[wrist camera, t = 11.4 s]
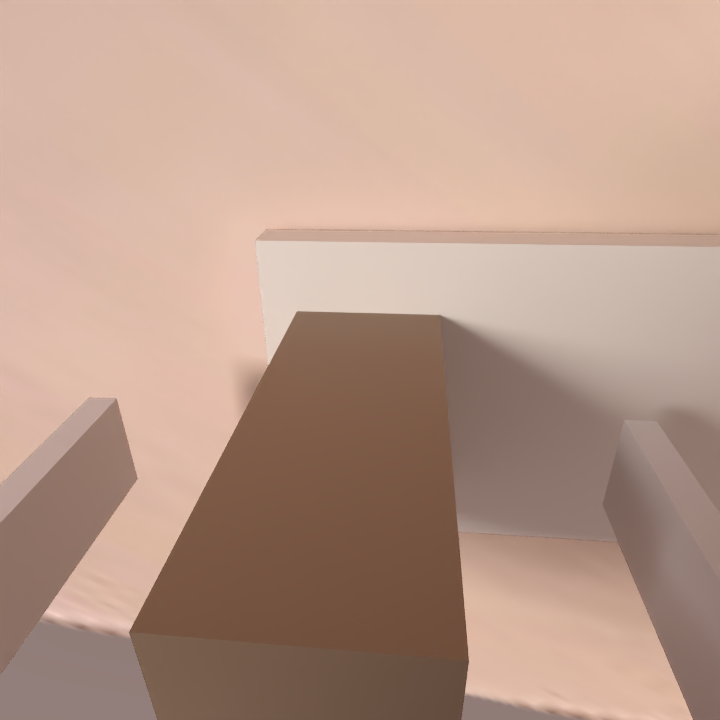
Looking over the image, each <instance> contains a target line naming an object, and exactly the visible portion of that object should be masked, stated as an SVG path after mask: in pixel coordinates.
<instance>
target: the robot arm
mask: <svg viewBox="0 0 720 720" xmlns="http://www.w3.org/2000/svg"><path fill="white" fill-rule="evenodd" d="M136 480H137V475H136V471H135V467H134V463H133V459H132V456H131V452H130V448H129V444H128V440H127V436H126V433H125V429H124V425H123V421H122V417H121V413H120V410H119V406H118V402H117V399H115V398H92V397H89V398H88V399H87V400H86V401H85V402H84V403H83V404H82V405H81V406H80V407H79V408H78V409H77V410H76V411H75V412H74V413H73V414H72V415H71V416H70V417H69V418H68V419H67V420H66V421H65V422H64V423H63V424H62V425H61V426H60V427H59V428H58V429H57V430H56V431H55V432H54V433H53V434H52V435H51V436H50V437H49V438H48V439H47V440H46V441H45V442H44V443H43V444H41V445H40V446H39V447H38V448H37V449H36V450H35V451H34V452H33V453H32V454H31V455H30V456H29V457H28V458H27V459H26V460H25V461H24V462H23V463H22V464H21V465H20V466H19V467H18V468H17V469H16V470H15V471H14V472H13V473H12V474H11V475H10V476H9V477H8V478H7V479H6V480H5V481H4V482H3V483H2V484H1V485H0V675H1V674H2V672H3V671H4V669H5V668H6V667H7V665H8V664H9V662H10V661H11V660H12V658H13V657H14V655H15V654H16V652H17V651H18V649H19V648H20V647H21V645H22V644H23V642H24V641H25V639H26V638H27V637H28V635H29V634H30V632H31V631H32V629H33V628H34V627H35V625H36V624H37V622H38V621H39V619H40V618H41V617H42V615H43V614H44V612H45V611H46V609H47V608H48V606H49V605H50V604H51V602H52V601H53V599H54V598H55V596H56V595H57V594H58V592H59V591H60V589H61V588H62V586H63V585H64V584H65V582H66V581H67V579H68V578H69V576H70V575H71V574H72V572H73V571H74V569H75V568H76V566H77V565H78V563H79V562H80V561H81V559H82V558H83V556H84V555H85V553H86V552H87V551H88V549H89V548H90V546H91V545H92V543H93V542H94V541H95V539H96V538H97V536H98V535H99V533H100V532H101V530H102V529H103V528H104V526H105V525H106V523H107V522H108V520H109V519H110V518H111V516H112V515H113V513H114V512H115V510H116V509H117V508H118V506H119V505H120V503H121V502H122V500H123V499H124V498H125V496H126V495H127V493H128V492H129V490H130V489H131V487H132V486H133V485H134V483H135V482H136ZM603 508H604V510H605V512H606V515H607V517H608V519H609V522H610V524H611V526H612V529H613V531H614V534H615V536H616V538H617V541H618V543H619V545H620V548H621V550H622V552H623V555H624V557H625V560H626V562H627V564H628V567H629V569H630V571H631V574H632V576H633V578H634V581H635V583H636V586H637V588H638V590H639V593H640V595H641V597H642V600H643V602H644V604H645V607H646V609H647V612H648V614H649V616H650V619H651V621H652V623H653V626H654V628H655V630H656V633H657V635H658V638H659V640H660V642H661V645H662V647H663V649H664V652H665V654H666V656H667V659H668V661H669V664H670V666H671V668H672V671H673V673H674V675H675V678H676V680H677V682H678V685H679V687H680V690H681V692H682V694H683V697H684V699H685V701H686V704H687V706H688V708H689V711H690V713H691V716H692V718H693V720H720V514H719V512H718V511H717V509H716V508H715V506H714V505H713V503H712V502H711V500H710V499H709V497H708V496H707V494H706V493H705V491H704V490H703V489H702V487H701V486H700V484H699V483H698V481H697V480H696V478H695V477H694V475H693V474H692V472H691V471H690V469H689V468H688V467H687V465H686V464H685V462H684V461H683V459H682V458H681V456H680V455H679V453H678V452H677V450H676V449H675V447H674V446H673V445H672V443H671V442H670V440H669V439H668V437H667V436H666V434H665V433H664V431H663V430H662V428H661V427H660V425H659V424H658V422H657V421H638V420H624V423H623V427H622V430H621V434H620V438H619V442H618V446H617V450H616V454H615V458H614V462H613V466H612V469H611V473H610V477H609V481H608V485H607V489H606V493H605V497H604V501H603Z"/></svg>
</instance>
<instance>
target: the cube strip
mask: <svg viewBox="0 0 720 720" xmlns="http://www.w3.org/2000/svg"><path fill="white" fill-rule="evenodd" d="M255 246H256V256H257V265H258V275H259V284H260V294H261V304H262V313H263V323H264V332H265V342H266V352H267V361H268V367H267V369H266V371H265V373H264V375H263V377H262V379H261V381H260V383H259V385H258V387H257V389H256V390H255V392H254V394H253V396H252V398H251V400H250V402H249V404H248V406H247V408H246V410H245V411H244V413H243V415H242V417H241V419H240V421H239V423H238V425H237V427H236V429H235V431H234V433H233V434H232V436H231V438H230V440H229V442H228V444H227V446H226V448H225V450H224V452H223V454H222V456H221V457H220V459H219V461H218V463H217V465H216V467H215V469H214V471H213V473H212V475H211V477H210V478H209V480H208V482H207V484H206V486H205V488H204V490H203V492H202V494H201V496H200V498H199V500H198V501H197V503H196V505H195V507H194V509H193V511H192V513H191V515H190V517H189V519H188V521H187V522H186V524H185V526H184V528H183V530H182V532H181V534H180V536H179V538H178V540H177V542H176V544H175V545H174V547H173V549H172V551H171V553H170V555H169V557H168V559H167V561H166V563H165V565H164V567H163V568H162V570H161V572H160V574H159V576H158V578H157V580H156V582H155V584H154V586H153V588H152V589H151V591H150V593H149V595H148V597H147V599H146V601H145V603H144V605H143V607H142V609H141V611H140V612H139V614H138V616H137V618H136V620H135V622H134V624H133V626H132V628H131V630H130V632H129V633H130V636H131V639H132V643H133V646H134V649H135V652H136V655H137V658H138V661H139V664H140V667H141V670H142V674H143V677H144V680H145V682H146V686H147V689H148V692H149V695H150V698H151V701H152V705H153V708H154V710H155V714H156V717H157V720H461V717H462V709H463V702H464V694H465V686H466V679H467V671H468V663H469V658H468V645H467V633H466V621H465V609H464V597H463V585H462V573H461V561H460V549H459V537H458V532H465V533H481V534H497V535H513V536H529V537H545V538H561V539H577V540H593V541H610V542H618V541H617V538H616V536H615V534H614V531H613V529H612V526H611V524H610V522H609V519H608V517H607V515H606V512H605V510H604V508H603V501H604V497H605V493H606V489H607V485H608V481H609V477H610V473H611V469H612V466H613V462H614V458H615V454H616V450H617V446H618V442H619V438H620V434H621V430H622V427H623V423H624V420H638V421H657V422H658V424H659V425H660V427H661V428H662V430H663V431H664V433H665V434H666V436H667V437H668V439H669V440H670V442H671V443H672V445H673V446H674V447H675V449H676V450H677V452H678V453H679V455H680V456H681V458H682V459H683V461H684V462H685V464H686V465H687V467H688V468H689V469H690V471H691V472H692V474H693V475H694V477H695V478H696V480H697V481H698V483H699V484H700V486H701V487H702V489H703V490H704V491H705V493H706V494H707V496H708V497H709V499H710V500H711V502H712V503H713V505H714V506H715V508H716V509H717V511H718V512H719V514H720V235H708V234H621V233H535V232H448V231H362V230H275V229H266V230H265V231H264V232H263V233H262V234H261V235H260V236H259V237H258V238H257V239H256V240H255Z"/></svg>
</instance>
